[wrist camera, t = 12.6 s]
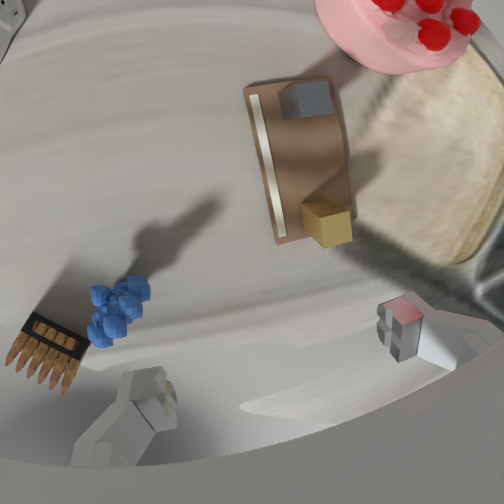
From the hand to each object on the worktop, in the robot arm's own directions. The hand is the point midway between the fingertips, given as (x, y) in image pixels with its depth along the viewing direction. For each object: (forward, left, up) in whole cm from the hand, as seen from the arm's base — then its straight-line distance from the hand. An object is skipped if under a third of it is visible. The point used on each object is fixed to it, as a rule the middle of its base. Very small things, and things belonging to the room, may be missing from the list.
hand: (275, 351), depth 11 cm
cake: (-22, +27, -29) cm, 46 cm away
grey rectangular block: (-9, +11, -29) cm, 32 cm away
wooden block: (+5, +11, -28) cm, 30 cm away
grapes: (+8, -16, -29) cm, 34 cm away
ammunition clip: (+13, -30, -29) cm, 44 cm away
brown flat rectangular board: (-2, +11, -29) cm, 31 cm away
